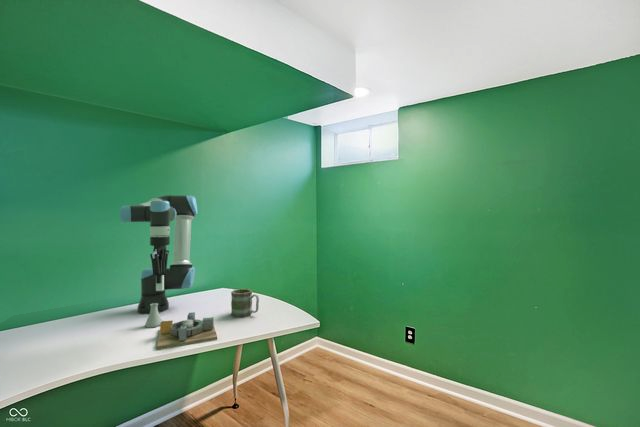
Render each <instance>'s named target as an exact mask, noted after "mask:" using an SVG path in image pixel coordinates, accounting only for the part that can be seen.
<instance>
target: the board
mask: <svg viewBox="0 0 640 427" xmlns="http://www.w3.org/2000/svg"><path fill="white" fill-rule="evenodd" d="M181 321H182V326H184V325H188V328H192V327H193V320H187V319H185V320H184V321H183V320H181ZM158 333H159V334H158V340H157V344H156V347H157V348H156V349H157V351H158V350H164V349H169V348H174V347H176V348H177V347H182V346H188V345H192V344H193V345H194V344H198V343H204V342H211V341H216V340H218V335H217V331H216V328H215V325H213V329H212V330H203V331H202V332H200V333H198V334H195V335H193V336H192V335H191V336H188V337H187V339H186V340H182V341H179V337H176V336H173V335H170V333H166V334H160V331H159V332H158Z"/></svg>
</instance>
